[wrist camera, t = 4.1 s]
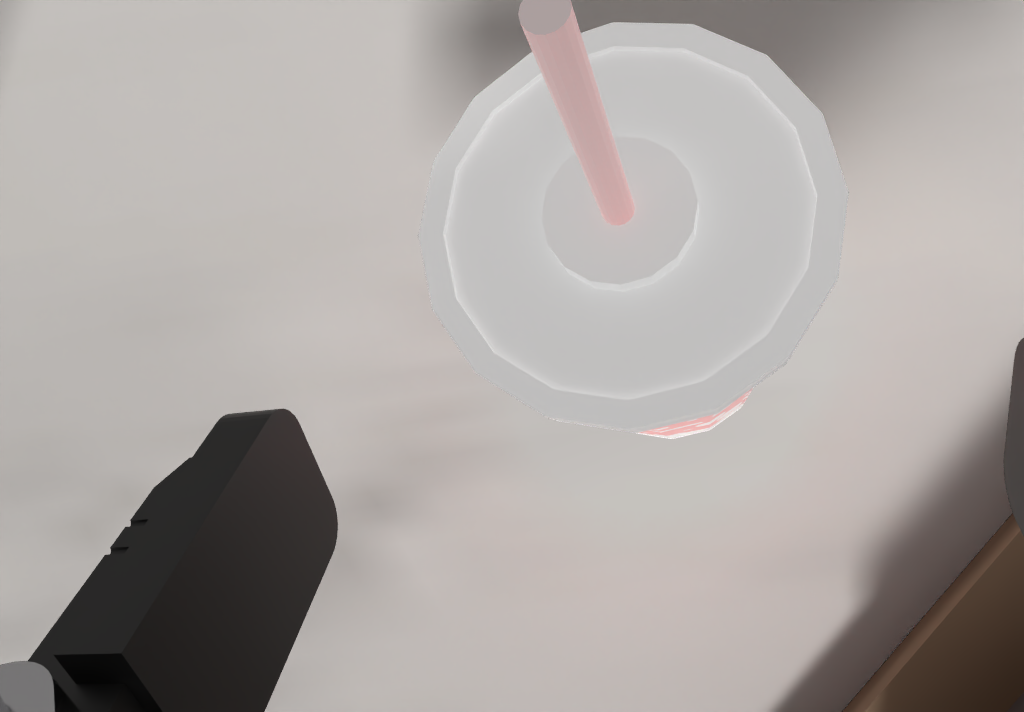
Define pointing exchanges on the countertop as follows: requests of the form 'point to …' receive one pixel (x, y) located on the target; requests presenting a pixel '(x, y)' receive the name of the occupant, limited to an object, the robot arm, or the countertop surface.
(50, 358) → the countertop surface
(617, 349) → the beverage cup
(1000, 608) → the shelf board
